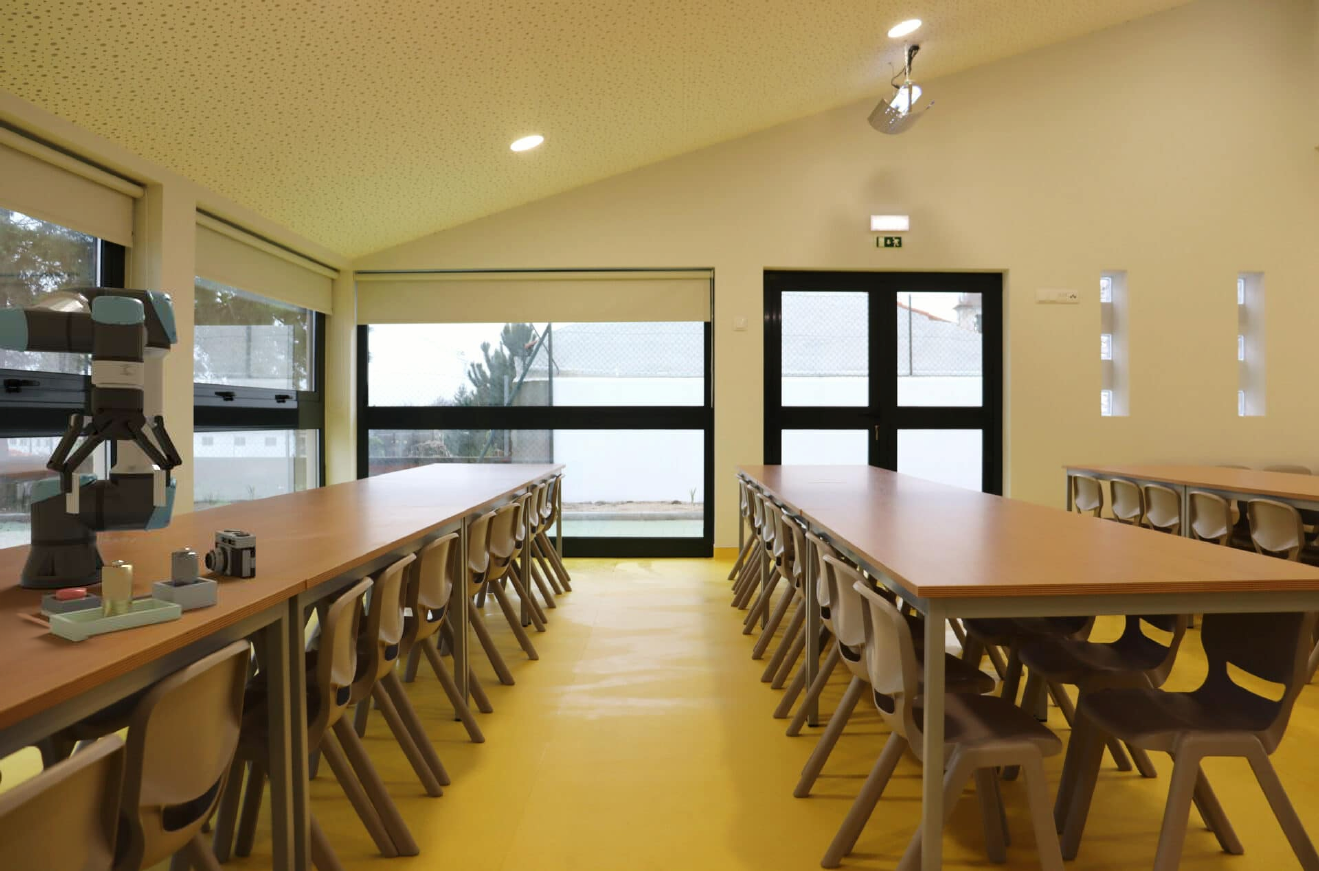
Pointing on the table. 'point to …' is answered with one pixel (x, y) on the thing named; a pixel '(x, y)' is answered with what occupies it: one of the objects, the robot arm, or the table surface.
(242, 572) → the camera
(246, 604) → the table surface
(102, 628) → the trough
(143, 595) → the empty grey frame
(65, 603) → the button housing
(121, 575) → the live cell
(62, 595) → the button
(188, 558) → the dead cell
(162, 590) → the bin
